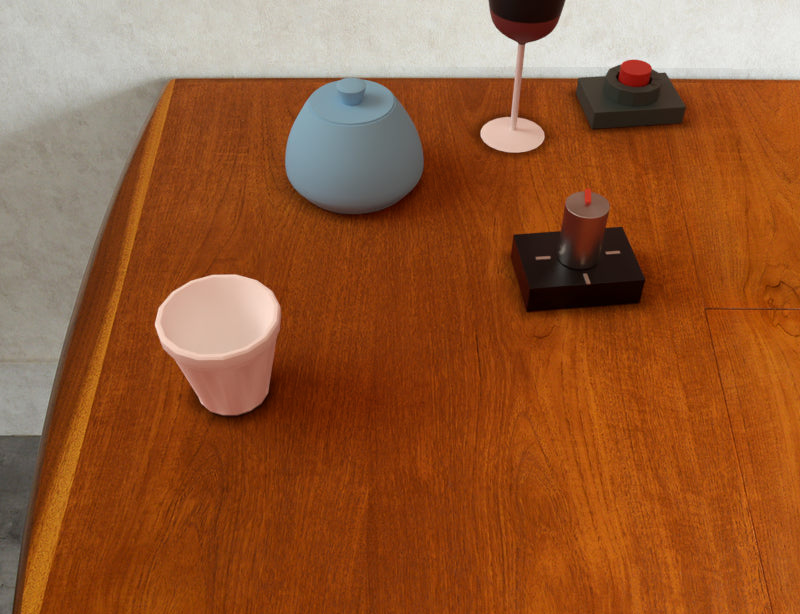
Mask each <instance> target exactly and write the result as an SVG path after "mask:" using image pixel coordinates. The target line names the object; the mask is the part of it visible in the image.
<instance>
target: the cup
mask: <svg viewBox="0 0 800 614" xmlns="http://www.w3.org/2000/svg"><path fill="white" fill-rule="evenodd" d="M281 308H282V307H281V305H280V302H279V301H278V299H277V297H276V295H275V292H274V291H273V290H271V289H270V288H269V287H267V286H266V285H265V284H263V283H262V282H260V281H259V280H257V279H254V278H250V277H247V276H243V275H240V274H235V273H234V274H210V275H207V276H204V277H200V278H196V279H193V280H190V281H188V282H186V283H185V284H182V285H181V286H180V287H177V288H176V289H175V290H173V291H171V292H170V294H169V295H168V296H167V297H166V299H165V300H163V302H162V303H161V304H160V305H159V306H158V308H157V314H156V316H155V317H156V318H155V322H154V327H155V330H156V333H157V336H158V338H159V341H160V344H161V347H162V349H163V350H164V351H165V353H167V355H169V356H170V357H171V358H172V359H173V360H174V361H175V363H176V364H177V366H178V367H179V369H180V371H181V372H182V374H183V375H184V377H185V378H186V380H187V382H188V383H189V385H190V386H191V388H192V390H193V391H194V392H195V393H194V394H196V396H197V398H198V400H199V402H200V404H201V405H202V406H203V407H204V408H205V409H207V410H208V411H209V412H210V413H212V414H216V415H219V416H222V417H238V416H242V415H244V414H245V415H246V414H249V413H251V412H252V411H254V410H255V409H257V408H258V407H259V406H261V405H262V404H263V402H264V401H265V399H266V397H267V396H268V394H269V391H270V383H271V378H272V372H273V371H272V370H273V363H274V357H275V350H276V345H277V339H278V335H279V333H280V331H281V321H282V309H281Z"/></svg>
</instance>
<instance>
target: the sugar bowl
mask: <svg viewBox="0 0 800 614" xmlns="http://www.w3.org/2000/svg"><path fill="white" fill-rule="evenodd" d="M284 158H285V159H284V163H285V172H286V177H287V179H288V181H289V183H290V184H291V186H292V187H293V189H294V190H296V191H297V193H298V194H299V195H301V197H303V198H305V199H306V200H307V201H308V202H310V203H311V204H313V205H315V206H317V207H318V208H321V209H322V210H326V211H327V212H328V211H329V212H332V213H335V214H336V213H337V214H344V215H363V214H370V213H375V212H378V211H383V210H385V209H388V208H390V207H392V206H394V205H395V204H396V203H398V202H400V201H401V200H402V199H404V198H405V197H406V196H407V195H409V194H410V192H412V191H413V189H414V188H415V187H416V186H417V185H418V183H419V181H420V180H421V177H422V175H423V172H424V167H425V163H424V162H425V161H424V160H425V159H424V158H425V157H424V150H423V146H422V141H421V138H420V135H419V132H418V130H417V127H416V125H415V123H414V122H413V120H412V118H411V116H410V115H409V113H408V111H407V110H406V109H405V107H404V106H403V104H402V103H401V101H399V99H398V98H397V96H395V94H393V92H392V91H391V90H390V89H389V88H388V87H385V86H384V85H383V84H380V83H378V82H375V81H372V80H367V79H363V78H359V77H344V78H342V79H340V80H335V81H331V82H328V83H326V84H323V85H322V86H320V87H318V88H317V89H316V90H315V91H313V92H312V93H311V95H309V97H308V98H307V100H306V101H305V102H304V104H303V106H302V107H301V109H300V111H299V113H298V115H297V116H296V117H295V120H294V122H293V124H292V126H291V128H290V132H289V134H288V137H287V143H286V147H285V157H284Z"/></svg>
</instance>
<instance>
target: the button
mask: <svg viewBox="0 0 800 614" xmlns="http://www.w3.org/2000/svg"><path fill="white" fill-rule="evenodd" d="M652 69H653V67H652V66H651V64H650V63H648V62H647V61H646V60H645V61H644V60H642V59H627V60H625V61H623V62H622V63H621V67H620V72H619V77H618V80H619V82H620V83H622V84H624V85H626V86H631V87H644V86H646V85H648V84H649V80H650V76H651V71H652Z"/></svg>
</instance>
